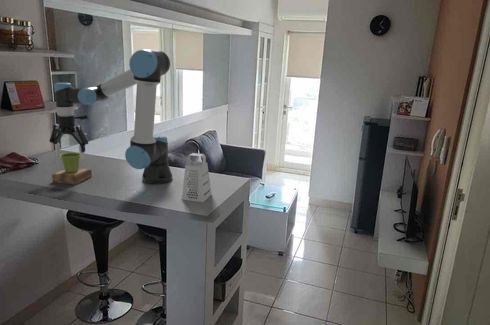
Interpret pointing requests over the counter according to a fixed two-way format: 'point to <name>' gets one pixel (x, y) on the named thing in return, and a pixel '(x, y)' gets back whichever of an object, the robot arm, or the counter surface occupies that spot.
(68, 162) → the plant pot
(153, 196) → the counter surface
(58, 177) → the tan flat square block
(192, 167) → the grater
